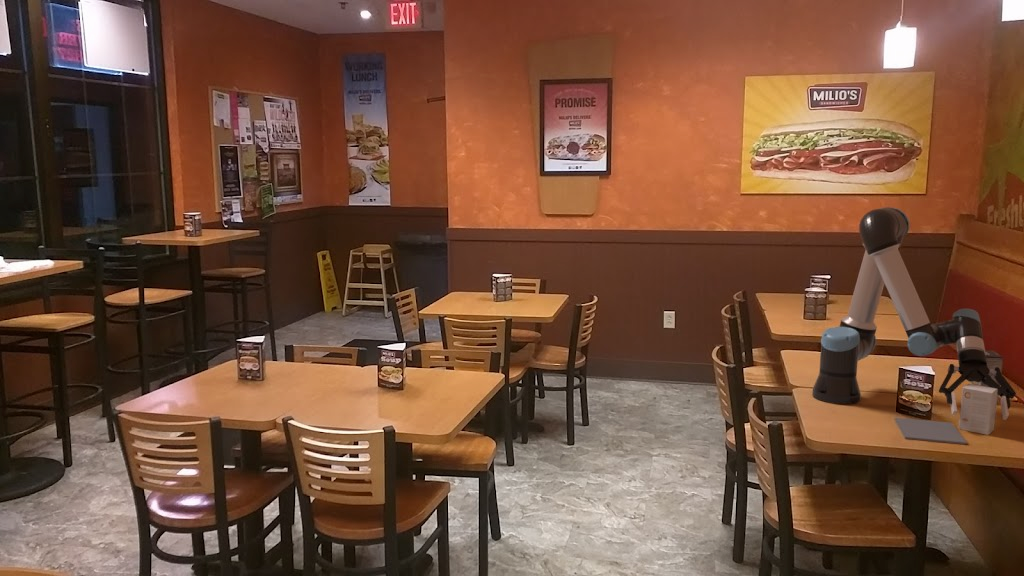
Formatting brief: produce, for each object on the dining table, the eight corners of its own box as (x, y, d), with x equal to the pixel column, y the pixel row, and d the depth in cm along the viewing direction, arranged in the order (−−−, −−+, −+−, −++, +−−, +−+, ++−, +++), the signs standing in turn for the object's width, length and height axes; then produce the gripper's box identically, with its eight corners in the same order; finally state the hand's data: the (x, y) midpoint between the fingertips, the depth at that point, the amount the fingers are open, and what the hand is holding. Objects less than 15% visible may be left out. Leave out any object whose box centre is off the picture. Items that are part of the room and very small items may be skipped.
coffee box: (968, 394, 272) (972, 349, 270) (988, 395, 271) (993, 350, 268) (978, 402, 263) (983, 355, 261) (999, 403, 262) (1004, 356, 260)
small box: (994, 430, 236) (998, 388, 234) (988, 435, 232) (993, 392, 230) (963, 424, 242) (968, 383, 240) (957, 429, 237) (962, 387, 235)
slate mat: (905, 438, 229) (905, 436, 229) (894, 419, 246) (894, 417, 246) (966, 444, 224) (967, 442, 224) (951, 424, 241) (951, 422, 241)
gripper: (1013, 363, 245) (1024, 425, 233) (924, 357, 252) (930, 417, 240) (1020, 350, 239) (1032, 413, 227) (929, 344, 246) (936, 405, 234)
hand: (980, 415), depth 234 cm, fingers open, 13 cm apart
